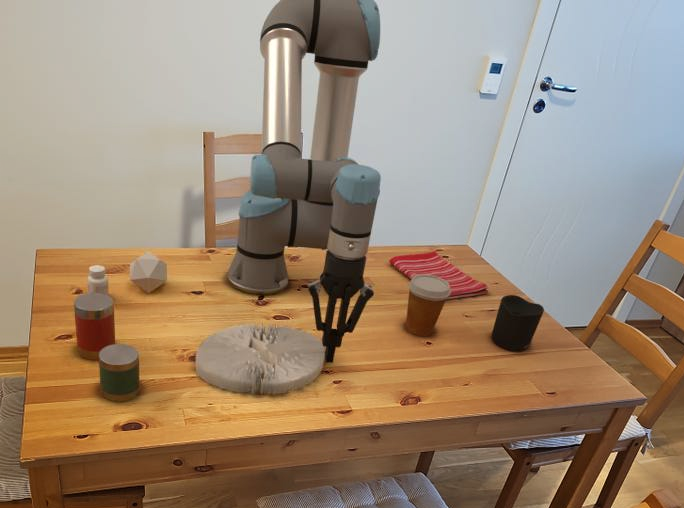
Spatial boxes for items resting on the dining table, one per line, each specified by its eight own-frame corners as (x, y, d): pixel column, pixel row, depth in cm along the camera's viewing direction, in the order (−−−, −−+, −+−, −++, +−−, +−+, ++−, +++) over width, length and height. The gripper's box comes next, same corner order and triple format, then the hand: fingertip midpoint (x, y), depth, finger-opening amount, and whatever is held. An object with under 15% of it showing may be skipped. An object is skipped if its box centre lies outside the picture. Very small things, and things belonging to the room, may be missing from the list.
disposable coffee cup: (439, 343, 145) (452, 296, 139) (397, 334, 146) (408, 287, 140) (439, 323, 153) (451, 278, 146) (399, 315, 154) (410, 270, 148)
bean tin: (105, 378, 120) (103, 342, 115) (142, 381, 120) (141, 345, 116) (97, 400, 114) (94, 363, 110) (136, 403, 114) (135, 366, 110)
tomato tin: (82, 339, 130) (78, 290, 124) (118, 341, 131) (116, 294, 125) (73, 358, 124) (69, 308, 118) (111, 361, 125) (109, 312, 119)
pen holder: (499, 353, 144) (512, 314, 139) (482, 331, 152) (494, 294, 146) (537, 353, 146) (551, 315, 140) (518, 332, 154) (531, 295, 148)
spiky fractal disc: (176, 346, 132) (176, 334, 130) (294, 325, 144) (296, 314, 143) (219, 408, 116) (220, 396, 114) (348, 379, 128) (350, 367, 127)
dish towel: (433, 258, 187) (436, 249, 186) (488, 294, 170) (491, 285, 169) (386, 264, 180) (388, 255, 178) (438, 302, 163) (441, 293, 161)
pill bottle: (112, 297, 146) (111, 266, 142) (101, 305, 142) (100, 274, 138) (95, 293, 147) (94, 262, 143) (84, 301, 143) (82, 269, 139)
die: (174, 294, 152) (174, 252, 153) (152, 288, 144) (151, 244, 145) (145, 297, 156) (145, 256, 156) (121, 291, 147) (121, 249, 148)
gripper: (313, 258, 114) (298, 367, 127) (384, 263, 115) (362, 371, 128) (310, 241, 120) (296, 347, 133) (378, 247, 122) (357, 351, 134)
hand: (328, 359), depth 131 cm, fingers closed
